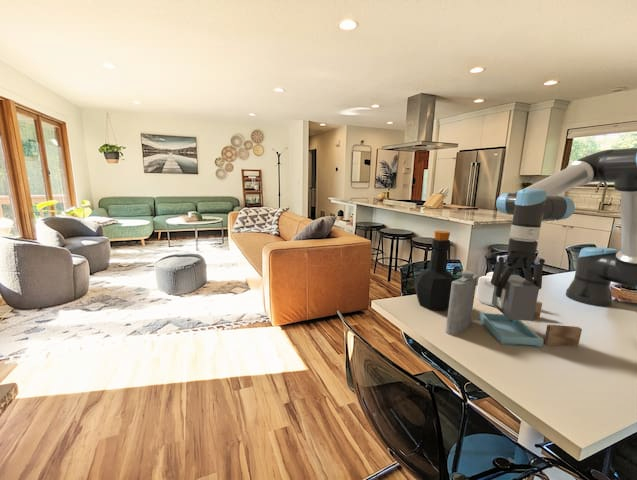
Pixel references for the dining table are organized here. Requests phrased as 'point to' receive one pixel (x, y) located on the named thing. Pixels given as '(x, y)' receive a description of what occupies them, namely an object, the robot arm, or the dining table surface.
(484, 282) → the cable organizer
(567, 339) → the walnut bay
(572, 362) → the dining table surface
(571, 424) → the dining table surface
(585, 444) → the dining table surface
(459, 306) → the hip flask
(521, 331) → the teal tray
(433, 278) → the bottle
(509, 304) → the grey rectangular block
